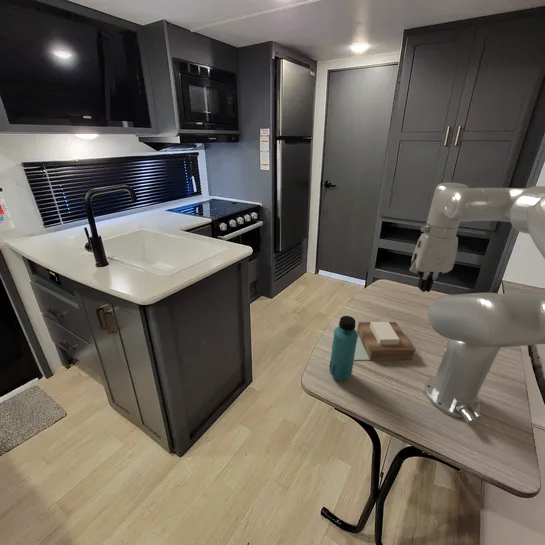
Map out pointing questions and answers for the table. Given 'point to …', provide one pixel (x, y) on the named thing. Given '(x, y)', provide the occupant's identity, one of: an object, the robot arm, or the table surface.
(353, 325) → the beverage bottle
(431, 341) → the table surface
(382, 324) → the cream rectangular block
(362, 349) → the mat
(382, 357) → the flat brown wooden block
